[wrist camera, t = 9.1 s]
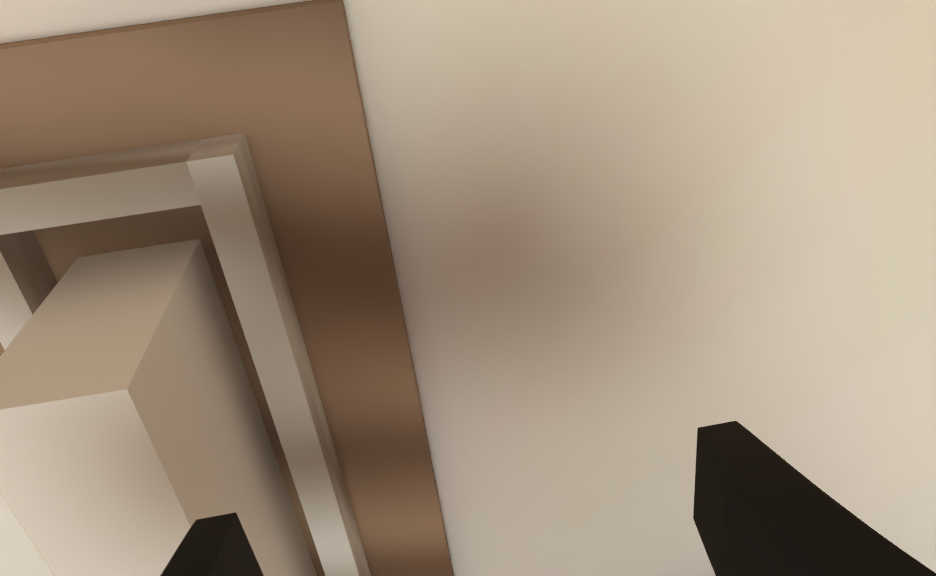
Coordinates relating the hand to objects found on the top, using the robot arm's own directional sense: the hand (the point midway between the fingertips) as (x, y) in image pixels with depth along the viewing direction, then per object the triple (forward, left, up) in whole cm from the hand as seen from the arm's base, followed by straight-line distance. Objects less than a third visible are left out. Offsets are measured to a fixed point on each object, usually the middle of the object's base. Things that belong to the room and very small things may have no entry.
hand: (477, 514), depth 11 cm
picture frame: (-6, +7, -10) cm, 13 cm away
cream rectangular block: (-5, +7, -9) cm, 12 cm away
